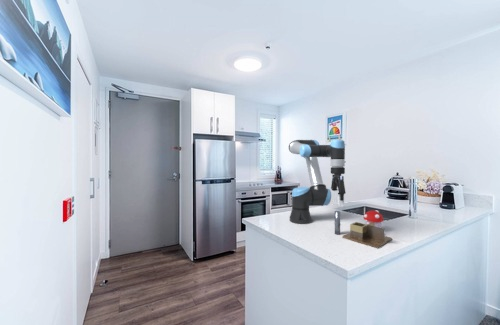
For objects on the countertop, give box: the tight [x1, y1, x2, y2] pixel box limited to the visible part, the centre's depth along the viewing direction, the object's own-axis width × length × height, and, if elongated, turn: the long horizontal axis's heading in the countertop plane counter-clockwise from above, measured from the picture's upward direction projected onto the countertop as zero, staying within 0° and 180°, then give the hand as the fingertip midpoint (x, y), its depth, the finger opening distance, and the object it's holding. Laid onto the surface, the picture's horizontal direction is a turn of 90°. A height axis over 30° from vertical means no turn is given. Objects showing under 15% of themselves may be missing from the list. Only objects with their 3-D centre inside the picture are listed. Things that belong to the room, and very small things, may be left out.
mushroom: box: [363, 209, 385, 228], centre depth 130 cm, size 11×11×12 cm
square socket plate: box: [341, 221, 393, 249], centre depth 116 cm, size 18×18×8 cm
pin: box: [334, 210, 341, 236], centre depth 124 cm, size 3×3×13 cm
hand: (337, 203), depth 123 cm, fingers open, 13 cm apart
